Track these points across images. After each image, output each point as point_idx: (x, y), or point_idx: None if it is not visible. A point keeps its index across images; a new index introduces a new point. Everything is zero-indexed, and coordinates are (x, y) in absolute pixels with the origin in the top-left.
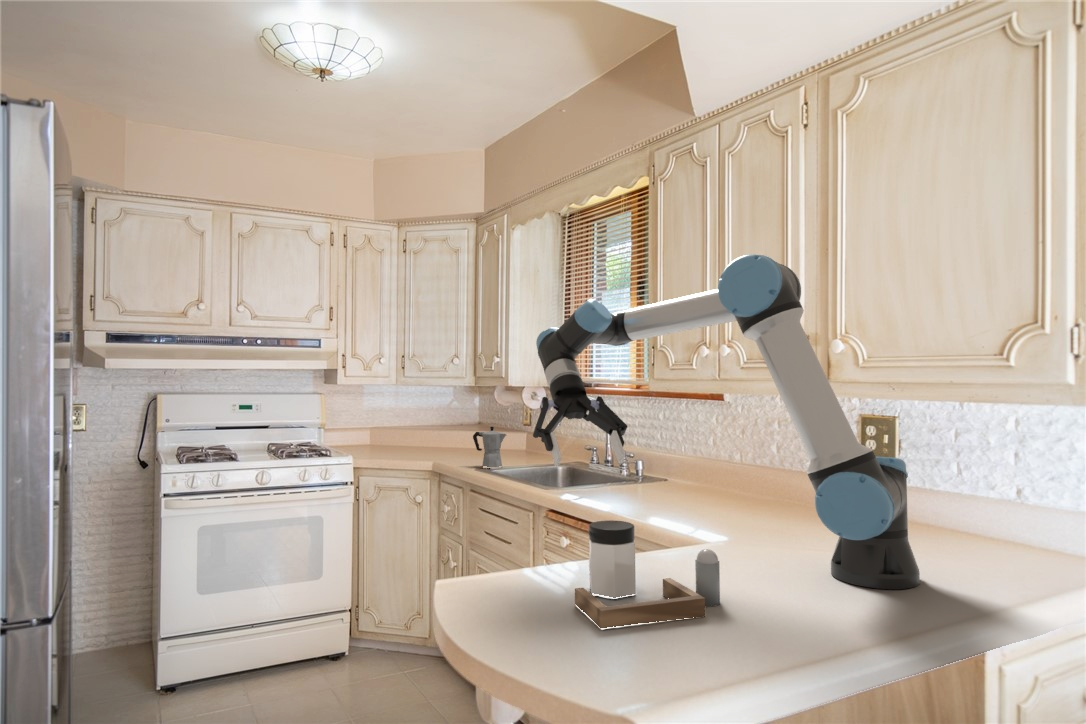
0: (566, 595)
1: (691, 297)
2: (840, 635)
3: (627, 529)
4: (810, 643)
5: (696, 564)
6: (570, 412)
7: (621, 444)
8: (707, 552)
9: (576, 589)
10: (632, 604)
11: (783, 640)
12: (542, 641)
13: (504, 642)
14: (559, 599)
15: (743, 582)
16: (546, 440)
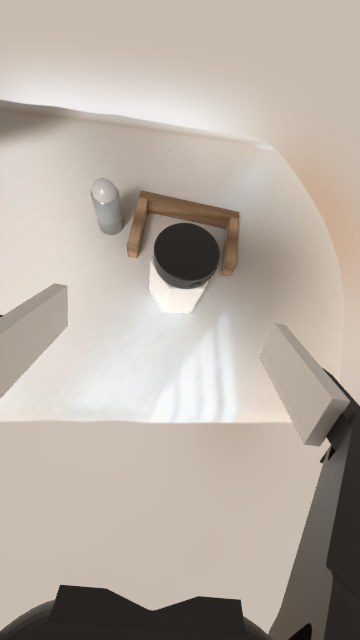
0: (223, 306)
1: None
2: (79, 136)
3: (180, 223)
4: (112, 140)
5: (118, 199)
6: (235, 610)
7: (28, 300)
8: (107, 179)
9: (235, 263)
10: (208, 210)
11: (124, 151)
12: (280, 229)
13: (306, 241)
14: (234, 299)
15: (24, 248)
16: (344, 390)
